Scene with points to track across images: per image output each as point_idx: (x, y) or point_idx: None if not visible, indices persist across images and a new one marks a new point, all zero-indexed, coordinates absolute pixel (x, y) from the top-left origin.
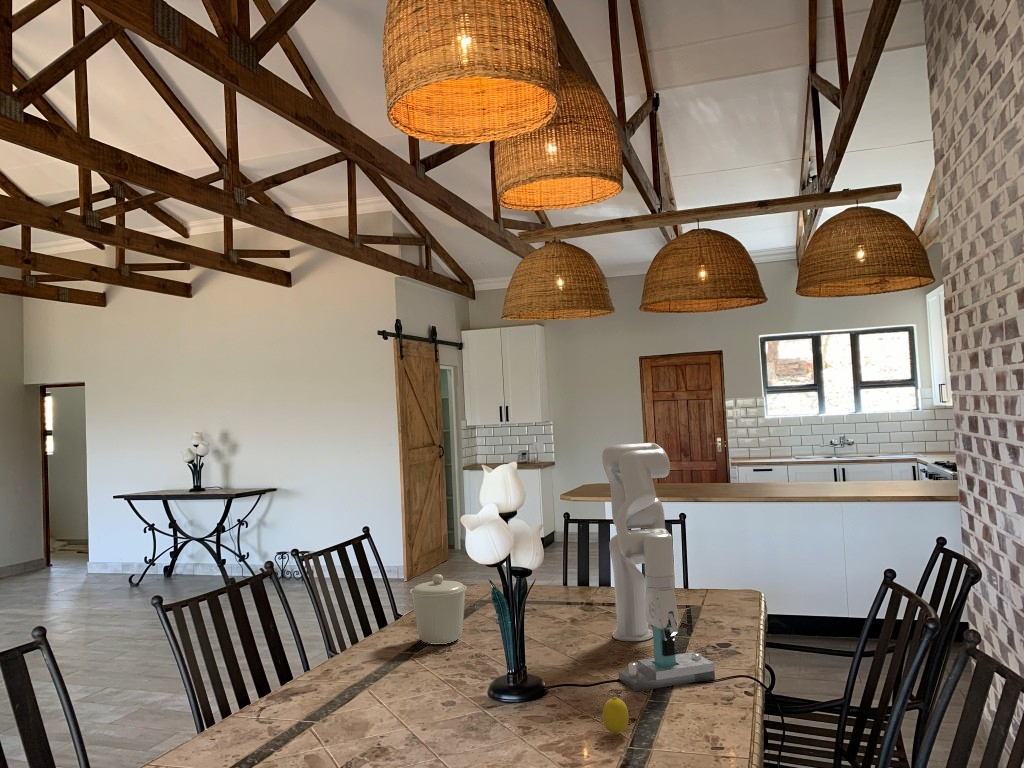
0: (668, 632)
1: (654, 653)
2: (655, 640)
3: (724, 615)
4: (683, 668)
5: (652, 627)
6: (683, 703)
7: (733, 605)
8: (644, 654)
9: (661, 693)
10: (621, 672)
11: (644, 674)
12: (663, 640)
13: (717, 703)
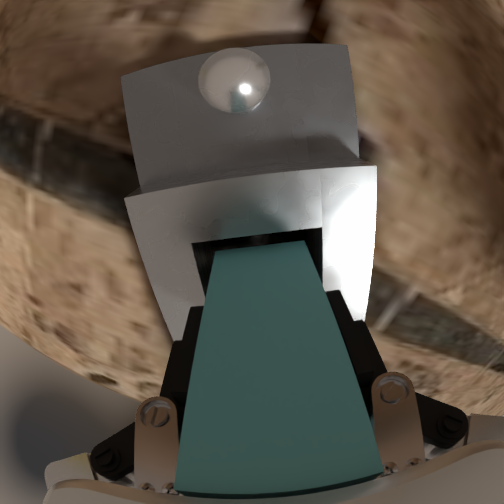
0: (99, 467)
1: (311, 273)
2: (295, 353)
3: (491, 403)
4: (170, 331)
5: (446, 407)
6: (23, 227)
7: (498, 407)
8: (497, 261)
9: (95, 180)
10: (317, 48)
11: (241, 150)
12: (176, 397)
13: (34, 304)
